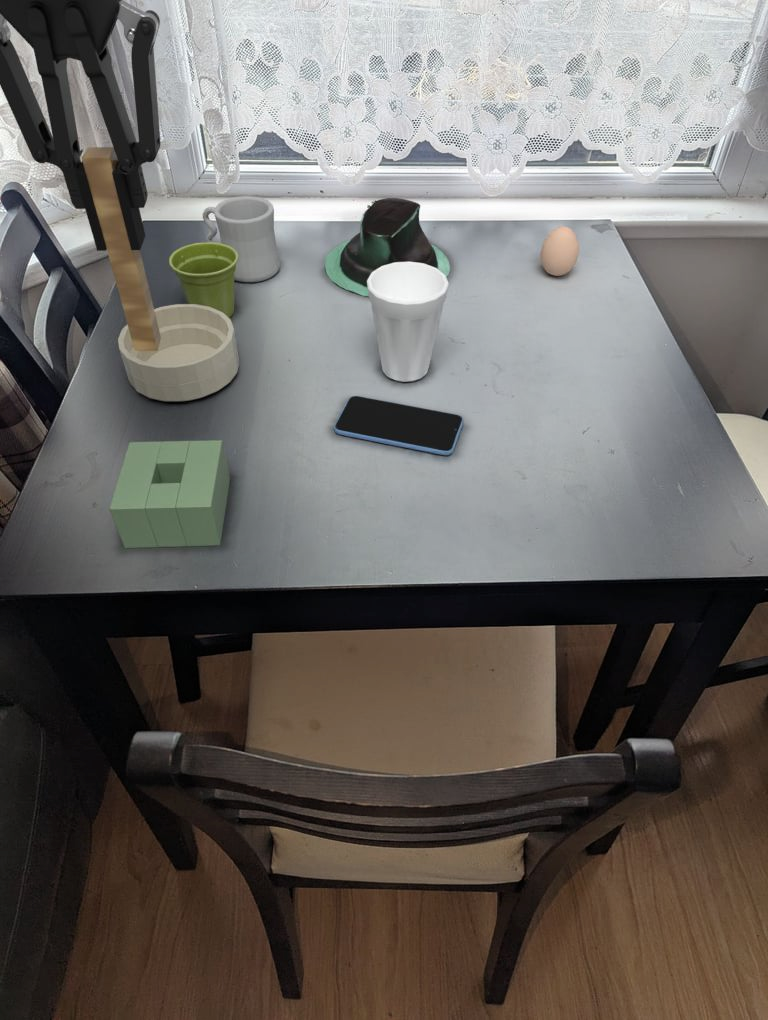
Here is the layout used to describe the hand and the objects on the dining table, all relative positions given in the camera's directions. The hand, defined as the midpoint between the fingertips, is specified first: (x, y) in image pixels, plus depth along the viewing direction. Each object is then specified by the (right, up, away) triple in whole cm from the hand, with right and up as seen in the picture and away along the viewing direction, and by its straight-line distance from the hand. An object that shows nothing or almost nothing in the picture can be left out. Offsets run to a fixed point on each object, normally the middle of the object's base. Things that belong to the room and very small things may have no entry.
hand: (121, 242), depth 64 cm
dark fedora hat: (+23, +16, +54) cm, 61 cm away
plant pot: (-2, +6, +44) cm, 45 cm away
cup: (+26, -5, +35) cm, 43 cm away
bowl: (-4, -5, +34) cm, 34 cm away
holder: (0, -24, +16) cm, 29 cm away
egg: (+50, +14, +52) cm, 74 cm away
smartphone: (+25, -13, +26) cm, 38 cm away
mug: (0, +15, +53) cm, 55 cm away
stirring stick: (0, -7, +8) cm, 10 cm away
